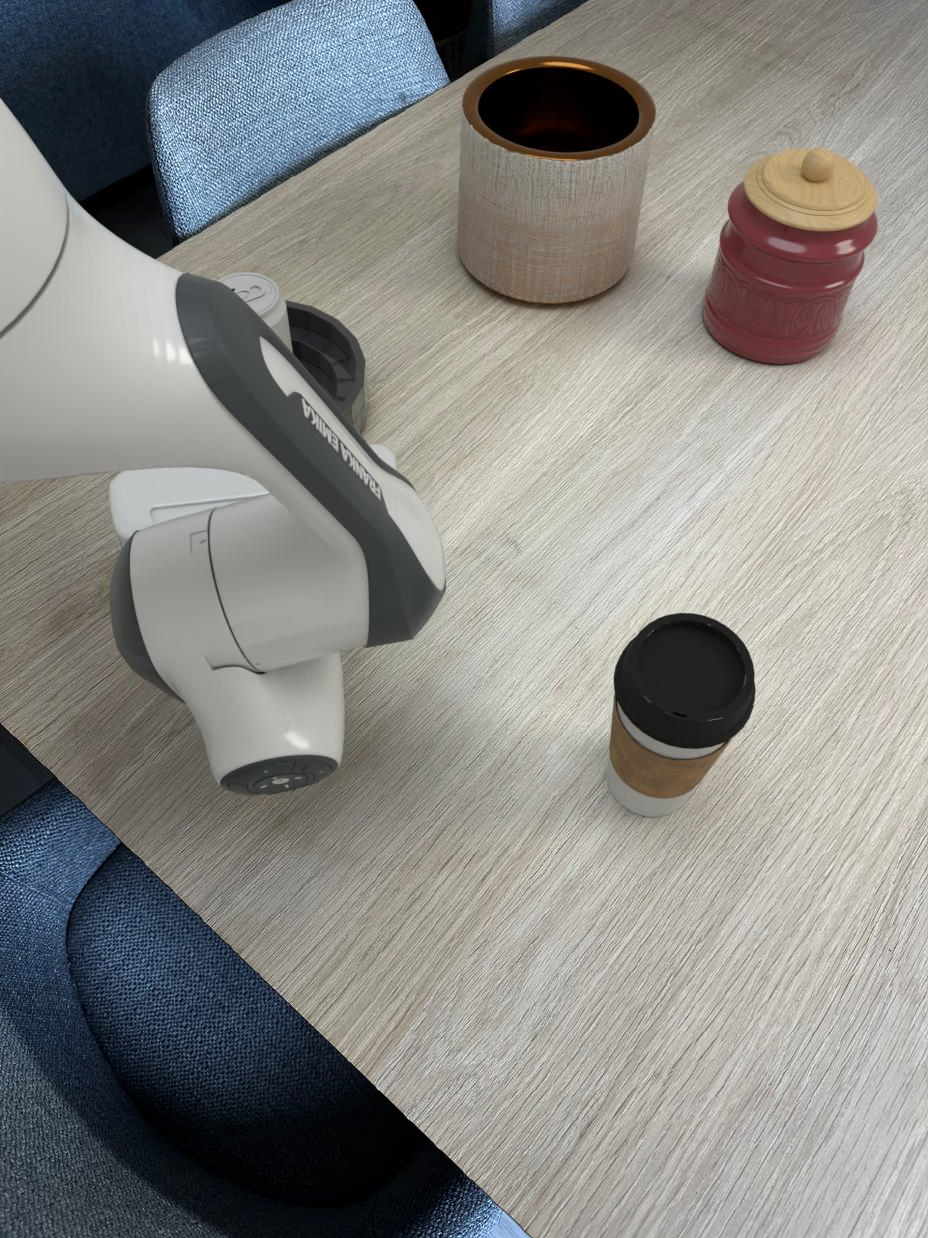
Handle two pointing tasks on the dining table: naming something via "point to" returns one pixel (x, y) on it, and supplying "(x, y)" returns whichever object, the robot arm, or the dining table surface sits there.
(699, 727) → the coffee cup
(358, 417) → the grey shallow round dish
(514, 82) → the planter
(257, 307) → the beverage can
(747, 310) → the kitchen canister
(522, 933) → the dining table surface
